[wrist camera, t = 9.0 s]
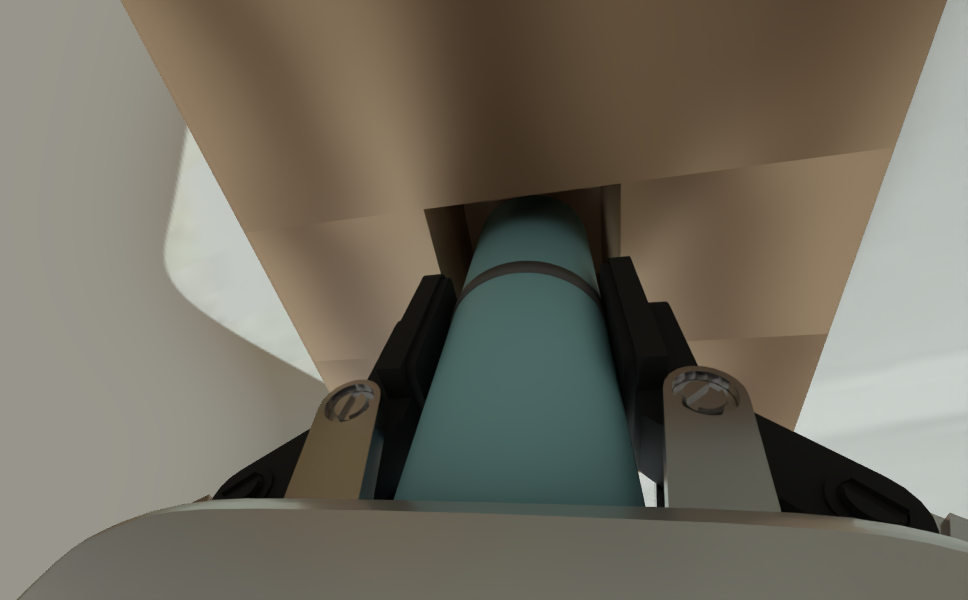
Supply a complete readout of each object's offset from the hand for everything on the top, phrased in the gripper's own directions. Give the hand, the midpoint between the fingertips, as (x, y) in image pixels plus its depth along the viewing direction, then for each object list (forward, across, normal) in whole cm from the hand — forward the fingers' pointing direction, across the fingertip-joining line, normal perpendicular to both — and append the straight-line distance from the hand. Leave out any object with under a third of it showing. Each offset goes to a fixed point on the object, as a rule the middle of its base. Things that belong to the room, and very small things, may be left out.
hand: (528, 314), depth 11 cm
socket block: (+8, 0, 0) cm, 8 cm away
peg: (+4, 0, 0) cm, 4 cm away
